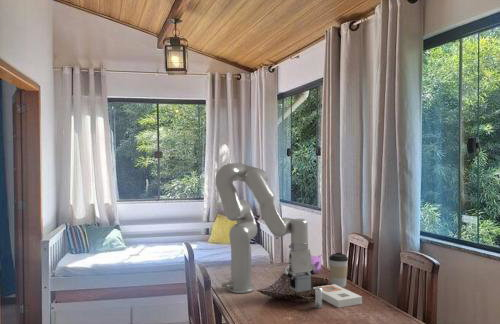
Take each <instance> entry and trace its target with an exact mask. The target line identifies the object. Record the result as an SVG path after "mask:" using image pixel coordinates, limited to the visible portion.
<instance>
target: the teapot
mask: <svg viewBox="0 0 500 324" xmlns="http://www.w3.org/2000/svg"><path fill="white" fill-rule="evenodd" d="M322 256H323V255H322V254H320V255H318V256H315V255H312V254H311V259H312V264H313V265H314V266H316V268H315V270H314V272H313V273H312V274H314V275H318V274H319V273H318V272H322Z"/></svg>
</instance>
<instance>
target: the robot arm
mask: <svg viewBox="0 0 500 324" xmlns="http://www.w3.org/2000/svg"><path fill="white" fill-rule="evenodd" d="M268 176H269V175H268V173H267V171H265V170H264V169H262V168H259V167H255V166H251V165H249V164H244V163H241V162H238V163H237V162H235V163H234V162H232V163H226V164H223V165H222V166H221V167H220V168H219V169H218V171H217V172H216V174H215V186H216V188H217V192H218V194H219V197H220V201H221V204H222V208H223V210H224V214H225V216H226V218H227V219H228V220H229V221H232V222H236V224H234V225H233V226H232V227H231V228H230V230H229V237H228V238H229V244H230V257H231V258H230V262H231V263H230V266H231V267H230V268H231V271H230V273H231V279H229V280H228V281H227V282H222V283H221V287H222V288H225V287H226V288H228V289H227V290H228V291H229V292H231V293H235V294H247V293H251V292H253V291H256V290H255V289H256V287H255V285H253V284H252V247H251V242H250V241H251V240H252V239H254V238H255V237H256V236H257V233H258V226H257V222H256V218H255V216H254V214H253V213H254V212H253V209H252V206H250V204H249V202H247V200H244V199H240V197H239V194H238V190H237V188H236V187H235V185H234V182H235V181H238V182H239V181H240V182H243V183H245V184H246V185H247V187H248V189H249V190H250V192H251V193H252V195H253V197H254V199H255V200H256V202H257V204H258V205H259V211H260V213H261V214H260V215H261V218H262V219H263V221H264V223H265V225H266V227H267V228H268V230H269V232H270V233H271V234H272V235H273V236H275V237H278V238H281V237H284V236H286V235H288V234H290V245H288V249H290V250H289V252H288V253H289V254H288V263H287V264H288V265H287V266H286V267H285V268H284V269H283V272H284V274H285V275H286V276H287V277H288V278H289V287H290V286H291V287H292V288H295V279H294V277H295V274H299V273H304V274H307V275H309V276H311V277H312V275H313V274H314V273H313V272H314V270H315V268H316V266H314V265H313V264H312V259H311V255H312V254H311V250H310V249H309V242H308V241H309V235H308V234H309V232H308V231H309V229H308V227H309V226H308V220H307V219H305V218H290V217H281V216H280V214H279V213H278V211H277V208H276V204H275V201H276V196H275V193H274V192H273V190H272V189H271V187H270V185H269V183H268V180H269V177H268Z"/></svg>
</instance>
